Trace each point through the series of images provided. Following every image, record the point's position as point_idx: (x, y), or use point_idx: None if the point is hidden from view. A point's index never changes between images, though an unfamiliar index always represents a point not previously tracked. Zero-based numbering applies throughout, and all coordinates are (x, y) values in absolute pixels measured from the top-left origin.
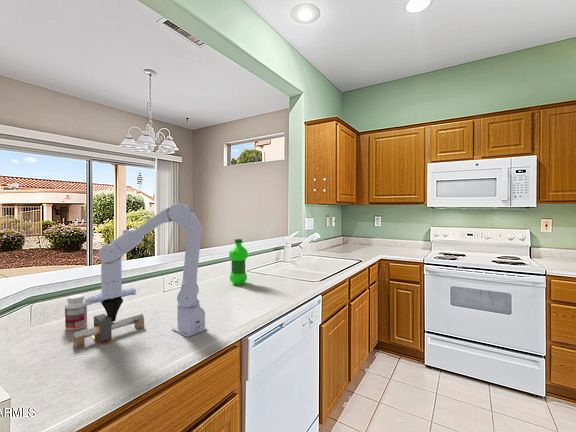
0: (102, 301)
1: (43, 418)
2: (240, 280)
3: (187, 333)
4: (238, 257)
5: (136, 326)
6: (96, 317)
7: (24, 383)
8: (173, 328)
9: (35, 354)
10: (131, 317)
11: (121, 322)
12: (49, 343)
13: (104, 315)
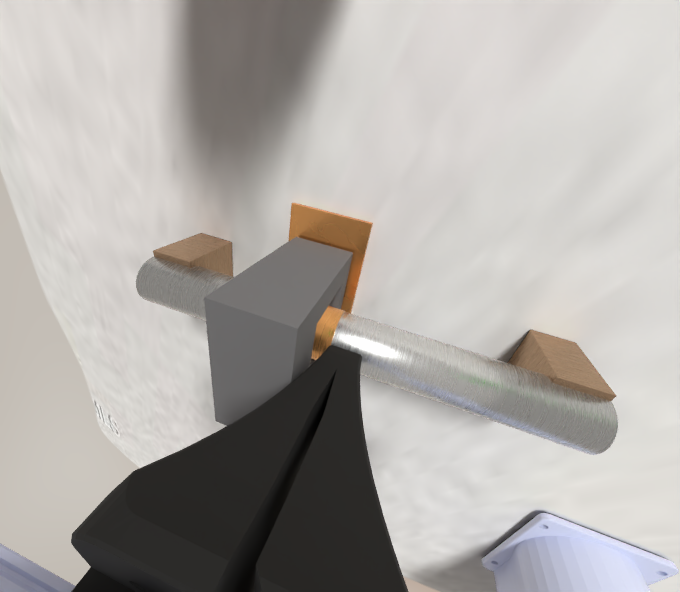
0: (99, 577)
1: (128, 449)
2: None
3: (500, 567)
4: None
5: (517, 361)
6: (213, 344)
7: (85, 337)
8: (543, 523)
9: (71, 158)
10: (494, 415)
11: (399, 387)
12: (108, 51)
13: (275, 369)
